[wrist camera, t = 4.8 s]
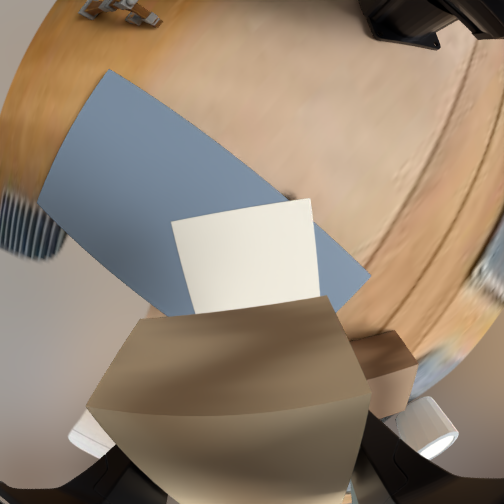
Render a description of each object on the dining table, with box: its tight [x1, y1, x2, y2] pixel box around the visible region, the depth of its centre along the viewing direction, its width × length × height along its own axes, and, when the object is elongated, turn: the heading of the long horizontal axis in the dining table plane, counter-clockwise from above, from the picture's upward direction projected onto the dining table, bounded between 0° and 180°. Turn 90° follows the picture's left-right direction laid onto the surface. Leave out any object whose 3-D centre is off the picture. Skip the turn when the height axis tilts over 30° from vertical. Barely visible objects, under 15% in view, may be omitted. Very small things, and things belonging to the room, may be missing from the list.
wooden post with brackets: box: [78, 0, 163, 27], centre depth 12 cm, size 2×8×4 cm, turn 59°
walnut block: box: [350, 330, 419, 419], centre depth 20 cm, size 5×6×5 cm
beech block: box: [86, 295, 372, 504], centre depth 7 cm, size 6×8×4 cm
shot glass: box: [396, 397, 459, 460], centre depth 22 cm, size 7×7×7 cm
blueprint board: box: [37, 69, 371, 317], centre depth 18 cm, size 25×14×1 cm, turn 51°
